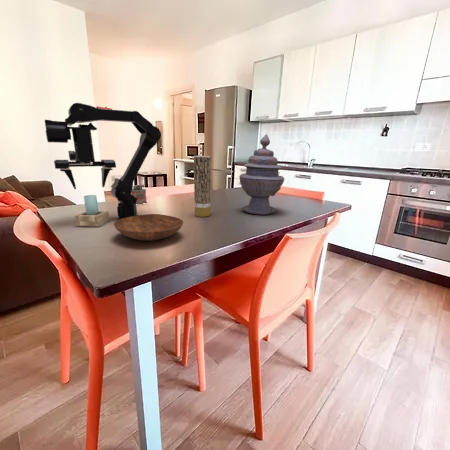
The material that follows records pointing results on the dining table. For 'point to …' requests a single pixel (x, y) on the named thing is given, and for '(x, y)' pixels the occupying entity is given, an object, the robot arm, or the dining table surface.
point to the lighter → (139, 194)
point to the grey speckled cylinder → (202, 186)
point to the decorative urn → (261, 179)
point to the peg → (91, 205)
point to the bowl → (148, 226)
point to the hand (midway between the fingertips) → (89, 188)
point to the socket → (92, 219)
